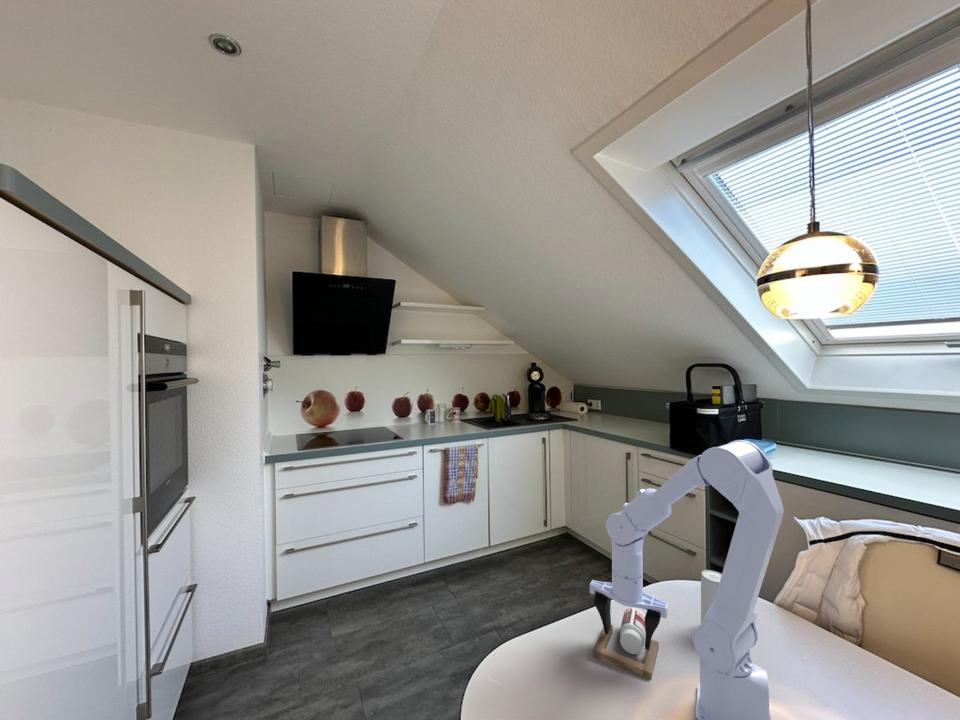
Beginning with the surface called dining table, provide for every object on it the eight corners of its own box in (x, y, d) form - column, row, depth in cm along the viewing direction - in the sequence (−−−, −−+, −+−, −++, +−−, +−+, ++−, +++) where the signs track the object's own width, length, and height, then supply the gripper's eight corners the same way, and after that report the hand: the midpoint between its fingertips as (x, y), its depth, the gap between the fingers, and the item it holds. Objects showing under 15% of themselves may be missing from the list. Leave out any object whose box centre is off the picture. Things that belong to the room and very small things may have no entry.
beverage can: (731, 641, 79) (731, 583, 79) (705, 638, 80) (705, 581, 80) (721, 625, 84) (721, 570, 83) (697, 622, 85) (697, 568, 84)
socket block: (658, 649, 77) (658, 641, 77) (651, 681, 69) (651, 673, 69) (605, 629, 82) (605, 622, 82) (593, 657, 75) (593, 649, 75)
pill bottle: (625, 627, 84) (619, 653, 76) (622, 604, 84) (616, 629, 76) (648, 631, 81) (645, 659, 74) (645, 609, 82) (642, 634, 74)
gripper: (669, 572, 76) (669, 640, 76) (596, 552, 84) (596, 614, 84) (665, 591, 70) (665, 664, 70) (586, 567, 78) (586, 634, 78)
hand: (627, 638), depth 76 cm, fingers open, 7 cm apart
